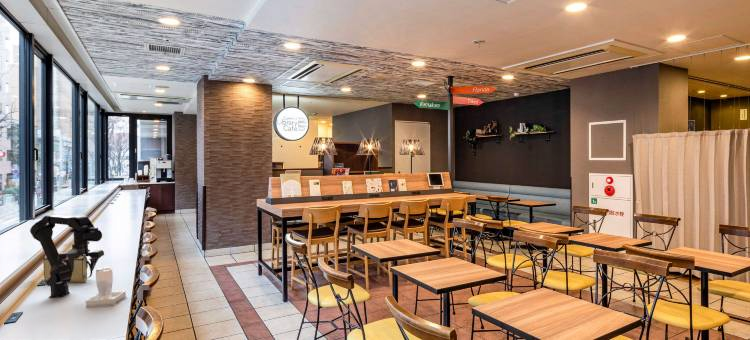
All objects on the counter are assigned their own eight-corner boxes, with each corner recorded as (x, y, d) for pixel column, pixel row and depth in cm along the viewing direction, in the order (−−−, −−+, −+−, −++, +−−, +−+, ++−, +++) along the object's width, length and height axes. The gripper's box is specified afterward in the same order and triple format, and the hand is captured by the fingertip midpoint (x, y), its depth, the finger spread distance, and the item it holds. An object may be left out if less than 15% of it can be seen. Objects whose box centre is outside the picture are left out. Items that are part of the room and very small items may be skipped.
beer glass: (110, 301, 195) (109, 270, 194) (94, 303, 193) (93, 272, 193) (116, 297, 202) (114, 267, 201) (100, 298, 200) (98, 268, 199)
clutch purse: (96, 279, 237) (95, 254, 237) (85, 283, 230) (84, 256, 230) (51, 278, 241) (50, 253, 241) (40, 281, 235) (39, 256, 234)
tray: (86, 307, 191) (85, 300, 191) (100, 298, 203) (99, 292, 203) (113, 305, 192) (113, 299, 192) (125, 296, 204) (125, 291, 204)
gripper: (50, 245, 196) (51, 277, 196) (91, 243, 198) (93, 275, 198) (64, 240, 207) (65, 271, 207) (104, 238, 209) (105, 269, 209)
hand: (82, 271), depth 205 cm, fingers open, 9 cm apart
